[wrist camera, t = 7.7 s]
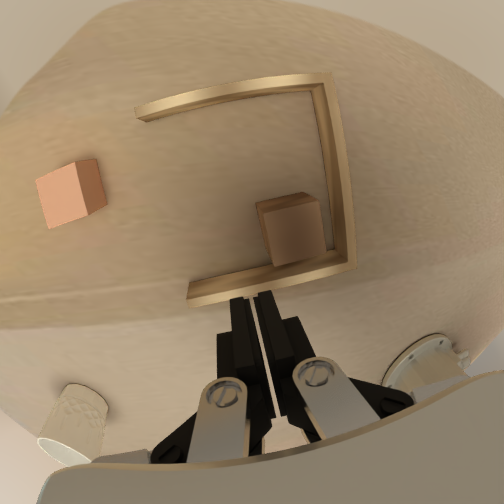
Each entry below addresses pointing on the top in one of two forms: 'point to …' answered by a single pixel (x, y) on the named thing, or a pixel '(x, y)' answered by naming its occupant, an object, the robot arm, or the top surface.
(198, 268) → the top surface
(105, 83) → the top surface
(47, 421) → the white cup
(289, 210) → the walnut block
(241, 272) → the tan u-shaped piece
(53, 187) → the terracotta block
